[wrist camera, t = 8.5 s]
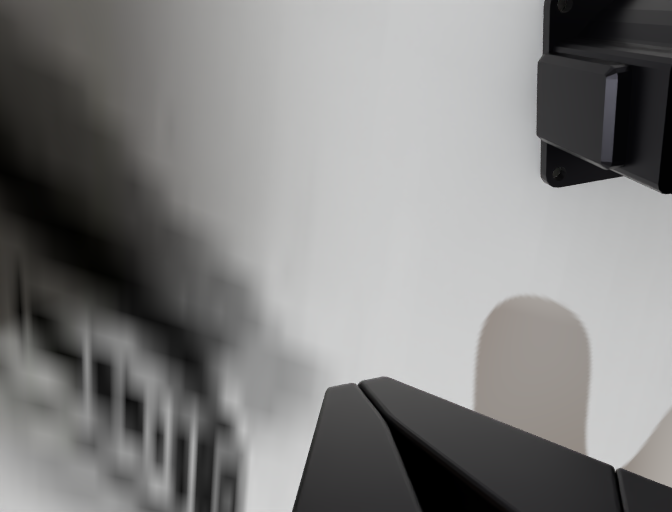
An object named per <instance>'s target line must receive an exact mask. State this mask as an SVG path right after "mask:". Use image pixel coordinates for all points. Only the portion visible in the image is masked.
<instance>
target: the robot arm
mask: <svg viewBox="0 0 672 512" xmlns="http://www.w3.org/2000/svg"><path fill="white" fill-rule="evenodd" d="M557 4H558V0H545V2H544V21H543V55H542V57H541V59H540V60H539V62H538V73H537V136H538V137H539V138H540V139H541V178H542V180H543V181H544V182H545V183H547V184H548V185H550V186H552V187H565V186H570V185H576V184H582V183H587V182H593V181H599V180H604V179H610V178H616V177H621V176H625V177H627V178H629V179H632V180H634V181H636V182H638V183H640V184H643V185H645V186H647V187H649V188H651V189H654V190H656V191H658V192H660V193H662V194H672V0H566V6H565V8H564V10H563V11H561V12H560V11H559V10H558V6H557ZM558 167H560V168H561V171H560V174H559V175H558V176H557V177H554V178H553V171H554V170H555V169H556V168H558ZM292 512H672V488H671V487H668V486H665V485H662V484H660V483H657V482H655V481H652V480H650V479H647V478H644V477H642V476H640V475H637V474H635V473H632V472H630V471H627V470H625V469H622V468H619V469H617V470H616V472H615V469H614V467H613V466H611V465H609V464H606V463H604V462H601V461H599V460H596V459H594V458H591V457H589V456H586V455H583V454H581V453H578V452H576V451H573V450H571V449H568V448H566V447H563V446H561V445H558V444H556V443H553V442H550V441H548V440H546V439H543V438H541V437H538V436H535V435H533V434H530V433H528V432H525V431H523V430H520V429H518V428H515V427H512V426H510V425H508V424H505V423H502V422H500V421H497V420H495V419H493V418H490V417H487V416H485V415H482V414H480V413H477V412H475V411H472V410H470V409H467V408H465V407H462V406H460V405H457V404H455V403H452V402H450V401H447V400H445V399H442V398H440V397H437V396H434V395H432V394H429V393H427V392H424V391H422V390H419V389H417V388H414V387H412V386H409V385H407V384H404V383H402V382H399V381H397V380H394V379H392V378H389V377H378V378H374V379H369V380H364V381H361V382H360V383H359V384H358V385H356V384H355V383H349V384H344V385H338V386H333V387H329V388H328V389H327V390H326V393H325V396H324V400H323V403H322V407H321V410H320V414H319V418H318V421H317V425H316V428H315V432H314V435H313V439H312V443H311V446H310V450H309V453H308V457H307V460H306V464H305V468H304V471H303V475H302V478H301V482H300V485H299V489H298V493H297V496H296V500H295V503H294V507H293V510H292Z"/></svg>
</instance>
